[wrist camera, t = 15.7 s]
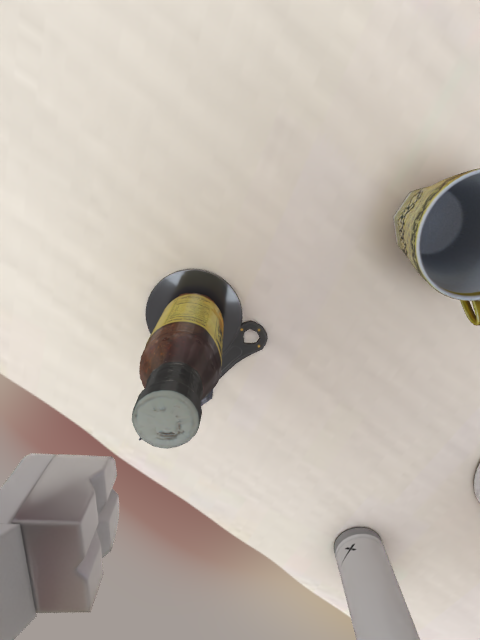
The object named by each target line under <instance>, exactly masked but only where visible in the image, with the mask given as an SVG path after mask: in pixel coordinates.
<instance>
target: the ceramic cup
mask: <svg viewBox="0 0 480 640" xmlns="http://www.w3.org/2000/svg"><path fill="white" fill-rule="evenodd" d="M393 220H394V227H395V234H396V240H397V244H398V246H399V247H400V248H401V250H402V251H403V252H404V253H405V255H406V256H407V257H408V258H409V259H410V261H411V263H412V265H413V266H414V268H415V269H416V270H417V271H418V273H419V274H420V275H421V276H422V277H423V278H424V279H425V280H426V281H427V282H428V283H429V284H430V285H431V286H432V287H433V288H434V289H435V290H437V291H438V292H440V293H442V294H443V295H445V296H448V297H450V298H453V299H458V300H460V301H461V304H462V306H463V309H464V311H465V313H466V315H467V317H468V319H469V320H470V321H471V322H472V323H473V324H474V325H480V168H479V169H475V170H471V171H467V172H464V173H461V174H458V175H455V176H452V177H450V178H447V179H445V180H442V181H440V182H438V183H436V184H434V185H432V186H429V187H425V188H422V189H418V190H415V191H412V192H410V193H409V194H408V196H407V197H406V199H405V200H404V202H403V203H402V205H401V206H400V208H399V209H398V211H397V212H396V214H395V215H394V217H393ZM469 301H472V303H473V307H474V310H475V314H476V315H475V314H474V312H473V309H472V307H471V305H470V302H469Z"/></svg>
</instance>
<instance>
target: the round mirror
mask: <svg viewBox="0 0 480 640" xmlns="http://www.w3.org/2000/svg"><path fill="white" fill-rule="evenodd" d="M185 293H197V294H202V295H205V296H208V297H209V298H210V299H211V300H212V301H213V302H214V303H215V304H216V305H217V307H218V308H219V310H220V312H221V314H222V317H223V323H224V328H223V347H222V353H223V352H224V351H225V349H226V348H227V347H228V346H229V344H230V342H231V340H232V338H233V337H234V335H235V333H236V331H237V329H238V327H240V326H241V324H242V309H241V304H240V301H239V298H238V296H237V294H236V293H235V291H234V290H233V288H232V287H231V286H230V285H229V284H228V283H227V282H226V281H225V280H224V279H222V278H221V277H219V276H217V275H216V274H214V273H211V272H208V271H205V270H200V269H186V270H180V271H177V272H174V273H172V274H170V275H168V276H167V277H165V278H164V279H162V280H161V281H160V282H159V283H158V284H157V285H156V286H155V288H154V289H153V291H152V292H151V294H150V296H149V298H148V302H147V306H146V322H147V326H148V329H149V331H150V333H151V334H152V332H153V330H154V328H155V327H156V325H157V323H158V321H159V319H160V317H161V315H162V314H163V312H164V310H165V308H166V307H167V305H168V304H169V303H170V302H171V301H173V300H174V299H175V298H177V297H179V296H180V295H181V294H185ZM239 331H240V328H239V330H238V332H237V334H236V335H235V337H234V340H233V342H234V341H235V339H236V338H237V336H238V334H239ZM233 342H232V344H233ZM232 344H231V345H232Z"/></svg>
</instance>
